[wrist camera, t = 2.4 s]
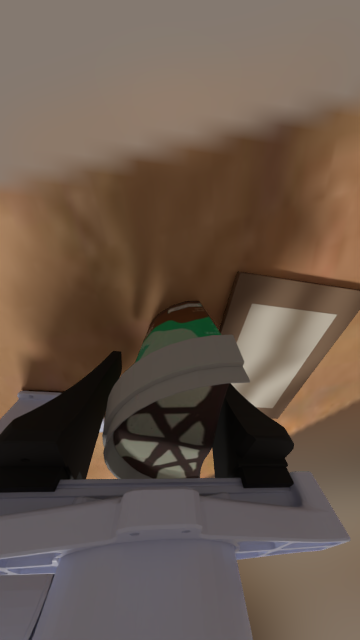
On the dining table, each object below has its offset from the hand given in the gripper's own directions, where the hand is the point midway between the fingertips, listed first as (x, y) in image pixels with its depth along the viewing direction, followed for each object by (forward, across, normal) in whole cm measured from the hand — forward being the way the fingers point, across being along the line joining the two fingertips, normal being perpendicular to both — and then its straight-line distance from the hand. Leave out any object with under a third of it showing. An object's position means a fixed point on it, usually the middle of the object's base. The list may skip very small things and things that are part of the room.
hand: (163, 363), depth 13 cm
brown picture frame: (+3, -12, +2) cm, 13 cm away
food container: (+4, 0, 0) cm, 4 cm away
